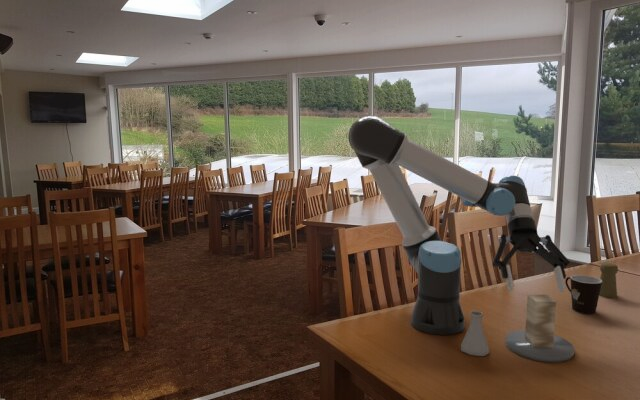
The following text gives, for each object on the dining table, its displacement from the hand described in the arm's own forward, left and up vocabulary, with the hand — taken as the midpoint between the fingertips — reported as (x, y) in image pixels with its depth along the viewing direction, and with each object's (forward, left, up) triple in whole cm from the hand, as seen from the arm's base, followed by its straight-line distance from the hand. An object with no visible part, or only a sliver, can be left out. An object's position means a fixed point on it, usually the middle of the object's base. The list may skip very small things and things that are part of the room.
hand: (537, 289), depth 124 cm
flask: (-20, -5, -13) cm, 25 cm away
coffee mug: (+27, +17, -13) cm, 35 cm away
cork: (+44, +27, -13) cm, 53 cm away
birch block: (-3, -6, -12) cm, 14 cm away
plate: (-3, -6, -13) cm, 15 cm away
